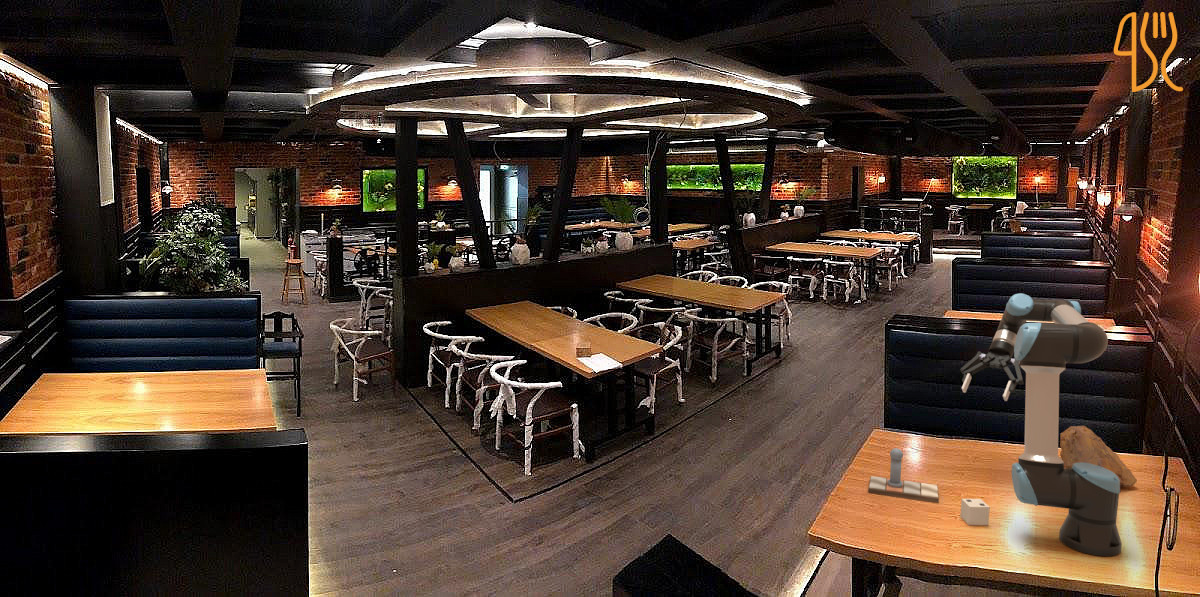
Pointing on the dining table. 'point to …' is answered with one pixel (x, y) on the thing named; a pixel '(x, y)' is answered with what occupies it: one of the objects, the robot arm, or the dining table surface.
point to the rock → (1092, 453)
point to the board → (904, 489)
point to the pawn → (895, 468)
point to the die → (975, 511)
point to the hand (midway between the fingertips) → (983, 394)
